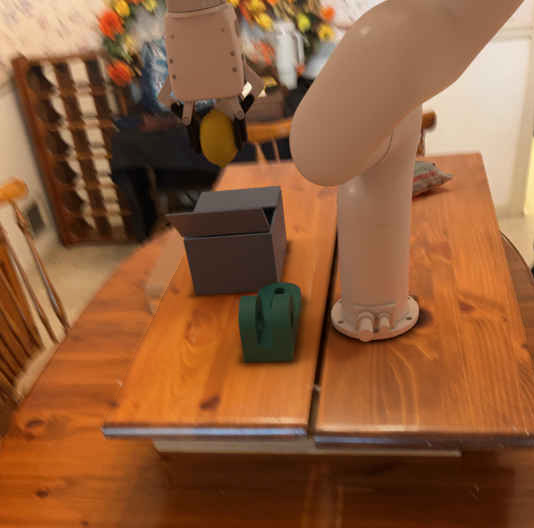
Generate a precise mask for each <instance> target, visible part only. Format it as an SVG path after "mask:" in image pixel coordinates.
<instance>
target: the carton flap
mask: <svg viewBox="0 0 534 528" xmlns="http://www.w3.org/2000/svg"><path fill="white" fill-rule="evenodd" d="M165 218H166V219H167V220H168V221H169V223H170V224H171V225H172V226H173V228H174V229H175V230H176V231H177V232H178V234H179V236H181V238H184V237H196V236H209V235H222V234H235V233H248V232H262V231H271V229H270V226H269V224H268V221H267V219H266V216H265V214H264V212H263V209H262V207H261V206H260V207H248V208H236V209H223V210H211V211H199V212H193V211H190V212H189V211H187V212H177V213H176V212H175V213H165Z"/></svg>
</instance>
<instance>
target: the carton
mask: <svg viewBox="0 0 534 528" xmlns="http://www.w3.org/2000/svg"><path fill="white" fill-rule="evenodd" d="M281 186H282V185H271V186H260V187H249V188H238V189H237V188H236V189H226V190H225V189H224V190H213V191H201V193H200V195H199V197H198V199H197V201H196V203H195V206H194V208H193V211H192V212H199V211H211V210H223V209H236V208H248V207H260V206H261V207H262V209H263V212H264V214H265V216H266V219H267V221H268V224H269V226H270V229H271V231H262V232H248V233H235V234H222V235H209V236H196V237H183V240H182V243H183V246H184V250H185V255H186V259H187V264H188V269H189V272H190V278H191V282H192V287H193V290H194V294H195V296H203V295H207V296H208V295H220V294H237V293H255V292H257V293H258V292H259V290H260V289H262V288H263V287H265V286H267V285H269V284H273V283H278V282H281V279H282V272H283V266H284V261H285V256H286V251H287V246H288V240H287V238H288V237H287V229H286V220H285V219H286V218H285V211H284V201H283V191H282V189H281Z"/></svg>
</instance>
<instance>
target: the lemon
mask: <svg viewBox="0 0 534 528" xmlns="http://www.w3.org/2000/svg"><path fill="white" fill-rule="evenodd" d="M199 139H200V145H201V149H202V151H201V153H202V154H203V156H204V157H205V158H206V159H207V160H208V162H210V163H212V164H213V165H216V166H218V167H219V168H220V169H225V168H227V166H228V164H229V163H230V162H232V161H233V160H234V158H235V157H236V155H237V152H238V149H237V145H236V138H235V132H234V125H233V120H232V118H231V116H229V114H227V113H225V112H224V111H221V110H218V109H217V108H212V109H211V110H210V111H209V112H208V113H206V114H205V115H204V116H203V118H202V119H201V121H200V129H199Z"/></svg>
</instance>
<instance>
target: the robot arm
mask: <svg viewBox="0 0 534 528" xmlns="http://www.w3.org/2000/svg"><path fill="white" fill-rule="evenodd" d="M524 2H525V0H384V1H382V2H380V3H378V4H376V5H374V6H373V7H370V8H369V9H368V10H367V11H365V12H364V13H363V14H361V16H359V18H357V20H356V21H354V23H352V25H351V26H350V27H349V28H348V30H346V32H345V33H344V35H343V36H342V37H341V39H340V41H338V43H337V44H336V47H335V48H334V49H333V51H332V53H331V54H330V56H329V57H328V58H327V60H326V62H325V63H324V65H323V67H322V68H321V69H320V71H319V72H318V74H317V75H316V77H315V78H314V79H313V82H312V83H311V85H310V86H309V88H308V90H307V91H306V93H305V94H304V96H303V97H302V99H301V100H300V102H299V104H298V106H297V107H296V109H295V111H294V114H293V117H292V119H291V124H290V128H289V138H288V140H289V143H288V144H289V151H290V155H291V159H292V163H293V164H294V166H295V168H296V170H297V171H298V173H299V174H300V175H301V176H302V177H303V178H304V179H305V180H306V181H308V182H310V183H312V184H314V185H316V186H319V187H323V188H324V187H325V188H326V187H327V188H328V187H337V188H336V222H337V223H336V224H337V226H336V227H337V243H338V244H337V246H338V261H339V262H338V267H339V284H340V287H339V288H340V298H339V300H337V301H336V302H335V303H334V305H333V306H332V309H331V311H330V318H331V323H332V326H333V327H334V328H335V329H336V330H337V331H338V332H339V333H341V334H342V335H345V336H346V337H350V338H353V339H357V340H360V341H361V342H366V343H367V342H370V341H377V340H386V339H391V338H394V337H397V336H399V335H402V334H404V333H406V332H407V331H409V330H410V329H412V328H413V327H414V326H415V325H416V324H417V322H418V319H419V315H420V307H419V304H418V302H417V301H416V300H415V299H414V298H413V297H412V296H410V295H409V290H410V289H409V287H410V286H409V285H410V262H411V261H410V260H411V259H410V257H411V226H412V224H411V223H412V211H413V210H412V207H413V202H412V201H413V197H412V187H413V174H414V165H415V161H416V158H417V152H418V147H419V142H420V137H421V136H420V135H421V131H422V124H423V104H425V103H426V102H428V101H429V100H431V99H433V98H434V97H437V96H438V95H439V94H441V93H443V92H444V91H445V90H446V89H448V88H450V87H451V86H452V85H453V84H454V83H456V82H457V81H458V80H459V79H460V78H461V76H463V74H464V73H465V72H466V71H467V69H468V68H469V67H470V66H471V64H472V63H473V62H474V61H475V59H476V58H477V57H478V55H479V54H480V53H482V51H483V50H484V48H485V47H486V46H487V45H488V43H490V41H491V40H492V39H494V37H495V36H496V34H498V33H499V31H500V30H501V29H502V28H503V27H504V26H505V24H506V23H507V22H508V21H509V19H511V18H512V16H513V15H514V14H515V12H516V11H517V10H519V8H520V7H521V5H523V3H524ZM165 4H166V9H167V12H166V13H165V14H164V16H163V28H164V29H163V32H164V44H165V53H166V61H167V62H166V63H167V70H168V75H167V76H166V78H165V80H164V83H163V85H162V86H161V89H160V91H159V92H158V94H157V97H156V98H157V101H158V102H159V103H160V104H162V105H163V106H164V107H166V108H167V109H168V110H170V111H171V113H173V114H174V115H175V116H176V117H178V118H179V119H180V120H181V121H182V123H183V124H184V125H186V131H187V137H188V141H189V145H190V147H193V149H194V154H195V155H200V154H202V149H201V145H200V139H199V129H200V124H201V122H200V119H199V118H198V117H197V115H196V114H195V112H196V105H197V102H202V101H211V100H220V99H227V100H228V102H229V105H230V107H231V108H232V112H233V113H234V114H233V115H234V118H233V120H232V121H233V125H234V132H235V138H236V145H237V151H243V149H244V147H245V144H246V142H248V140H249V139H248V138H249V136H248V135H249V134H248V126H247V121H246V114H247V113H248V111H250V109H251V107H252V105H254V103H255V101H256V100H257V99H258V98H259V96H260V95H261V94H262V93H263V91H264V89H265V87H266V82H265V81H264V80H263V79H262V77H260V75H258V73H256V71H254V69H252V68H251V66H250V65H248V64H247V62H246V56H245V50H244V46H243V40H242V35H241V31H240V25H239V21H238V18H237V15H236V11H235V7H234V4H233V3H229V2H228V3H227V0H165ZM247 84H250V86H251V88H250V90H249V91H248V93H247V94H246V95H245V97H244V98H243V97H242V93H243V92H244V90H245V86H246V85H247ZM172 95H173V96H172Z"/></svg>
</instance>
